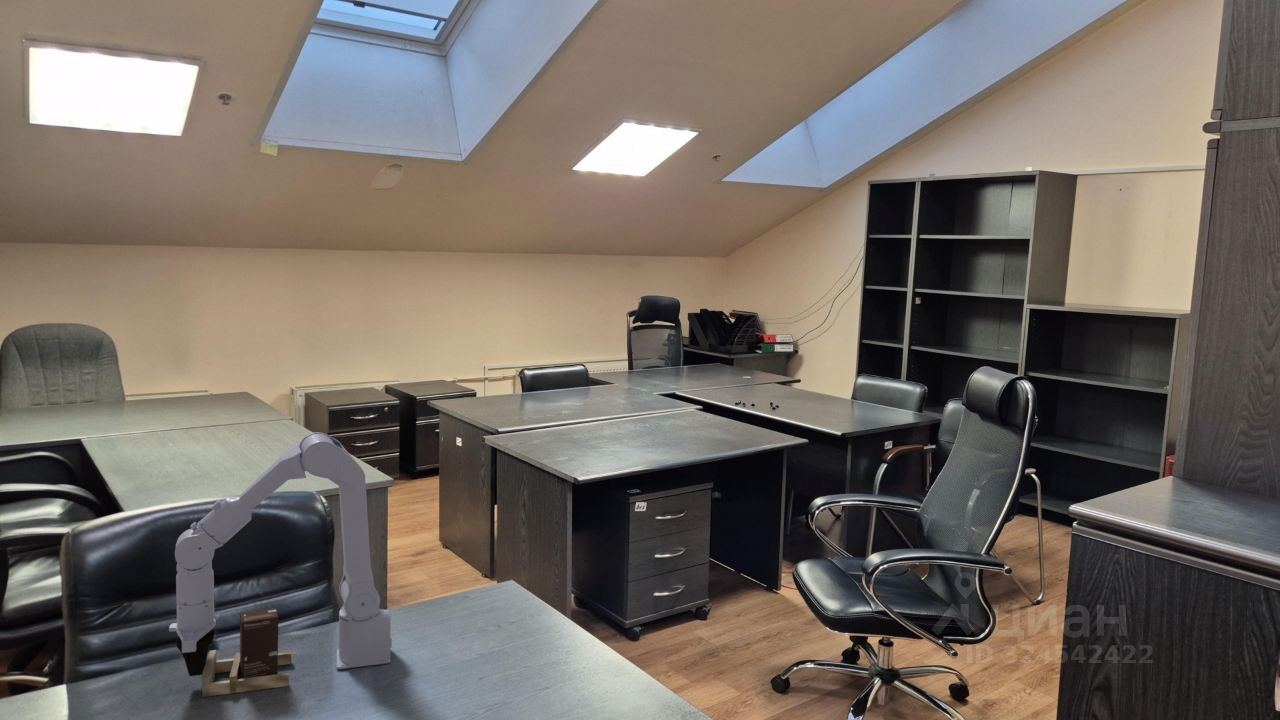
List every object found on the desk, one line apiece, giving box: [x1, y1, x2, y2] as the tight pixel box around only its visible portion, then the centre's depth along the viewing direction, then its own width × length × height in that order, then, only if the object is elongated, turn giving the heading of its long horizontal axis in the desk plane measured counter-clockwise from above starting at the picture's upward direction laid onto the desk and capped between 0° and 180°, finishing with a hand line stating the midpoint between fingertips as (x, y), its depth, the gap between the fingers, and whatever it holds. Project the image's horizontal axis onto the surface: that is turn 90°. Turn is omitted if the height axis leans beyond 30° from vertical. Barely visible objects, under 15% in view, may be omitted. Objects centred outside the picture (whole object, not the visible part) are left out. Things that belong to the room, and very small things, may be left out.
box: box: [239, 607, 279, 679], centre depth 144 cm, size 6×4×12 cm
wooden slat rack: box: [201, 649, 292, 698], centre depth 144 cm, size 14×9×4 cm
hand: (196, 673), depth 141 cm, fingers closed, pressing on wooden slat rack
